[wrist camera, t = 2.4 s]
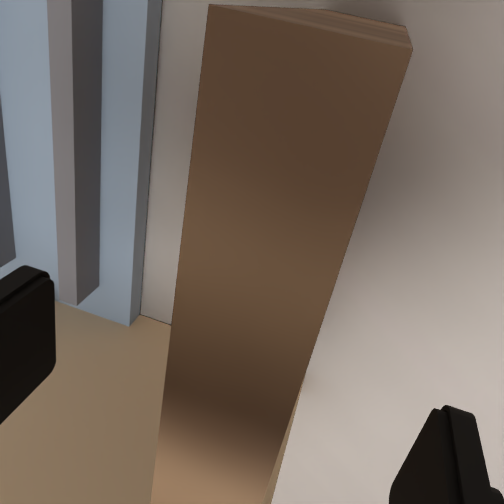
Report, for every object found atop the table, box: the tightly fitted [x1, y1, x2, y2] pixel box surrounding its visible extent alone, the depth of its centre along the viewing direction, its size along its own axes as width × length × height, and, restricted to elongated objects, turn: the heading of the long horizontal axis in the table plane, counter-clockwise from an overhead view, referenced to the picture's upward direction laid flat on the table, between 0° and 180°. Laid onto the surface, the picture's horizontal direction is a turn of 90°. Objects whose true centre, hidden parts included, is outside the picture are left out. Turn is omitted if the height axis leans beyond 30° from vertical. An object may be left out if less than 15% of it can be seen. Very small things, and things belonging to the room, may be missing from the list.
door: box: [150, 4, 413, 504], centre depth 15 cm, size 15×3×12 cm, turn 169°
